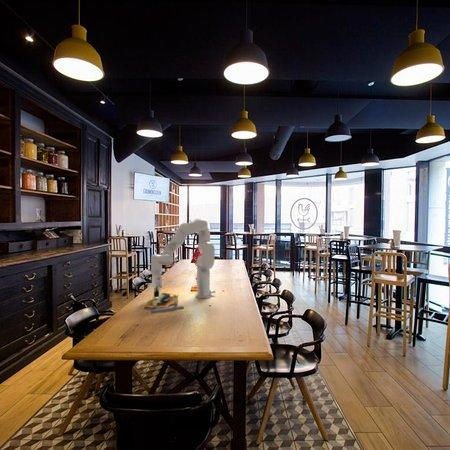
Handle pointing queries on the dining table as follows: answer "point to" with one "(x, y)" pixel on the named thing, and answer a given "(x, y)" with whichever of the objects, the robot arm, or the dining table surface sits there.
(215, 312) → the dining table surface
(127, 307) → the dining table surface
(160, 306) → the decorative plaque
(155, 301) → the post
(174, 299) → the post
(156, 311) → the wall strip
